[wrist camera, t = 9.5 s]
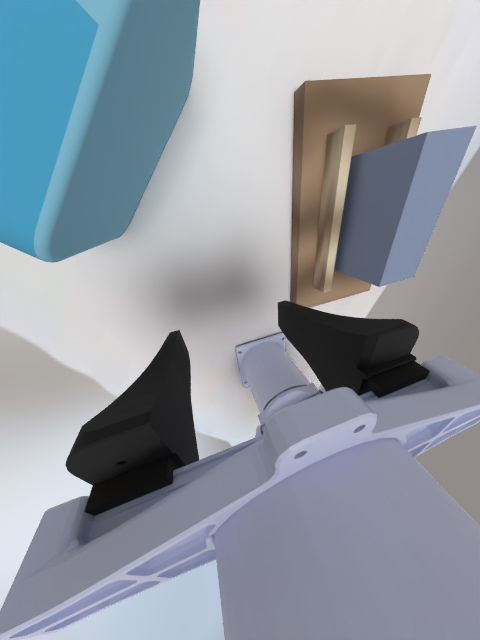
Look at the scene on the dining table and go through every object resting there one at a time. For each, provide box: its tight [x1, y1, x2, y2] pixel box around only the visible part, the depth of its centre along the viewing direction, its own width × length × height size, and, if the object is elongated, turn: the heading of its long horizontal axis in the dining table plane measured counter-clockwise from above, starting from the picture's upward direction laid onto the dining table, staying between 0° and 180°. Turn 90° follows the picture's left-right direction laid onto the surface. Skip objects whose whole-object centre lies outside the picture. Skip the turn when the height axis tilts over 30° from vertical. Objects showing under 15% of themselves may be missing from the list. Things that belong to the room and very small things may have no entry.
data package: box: [0, 0, 200, 262], centre depth 8 cm, size 12×4×12 cm, turn 142°
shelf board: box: [291, 74, 431, 308], centre depth 19 cm, size 20×12×4 cm, turn 8°
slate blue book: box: [334, 126, 476, 287], centre depth 17 cm, size 10×4×7 cm, turn 8°
